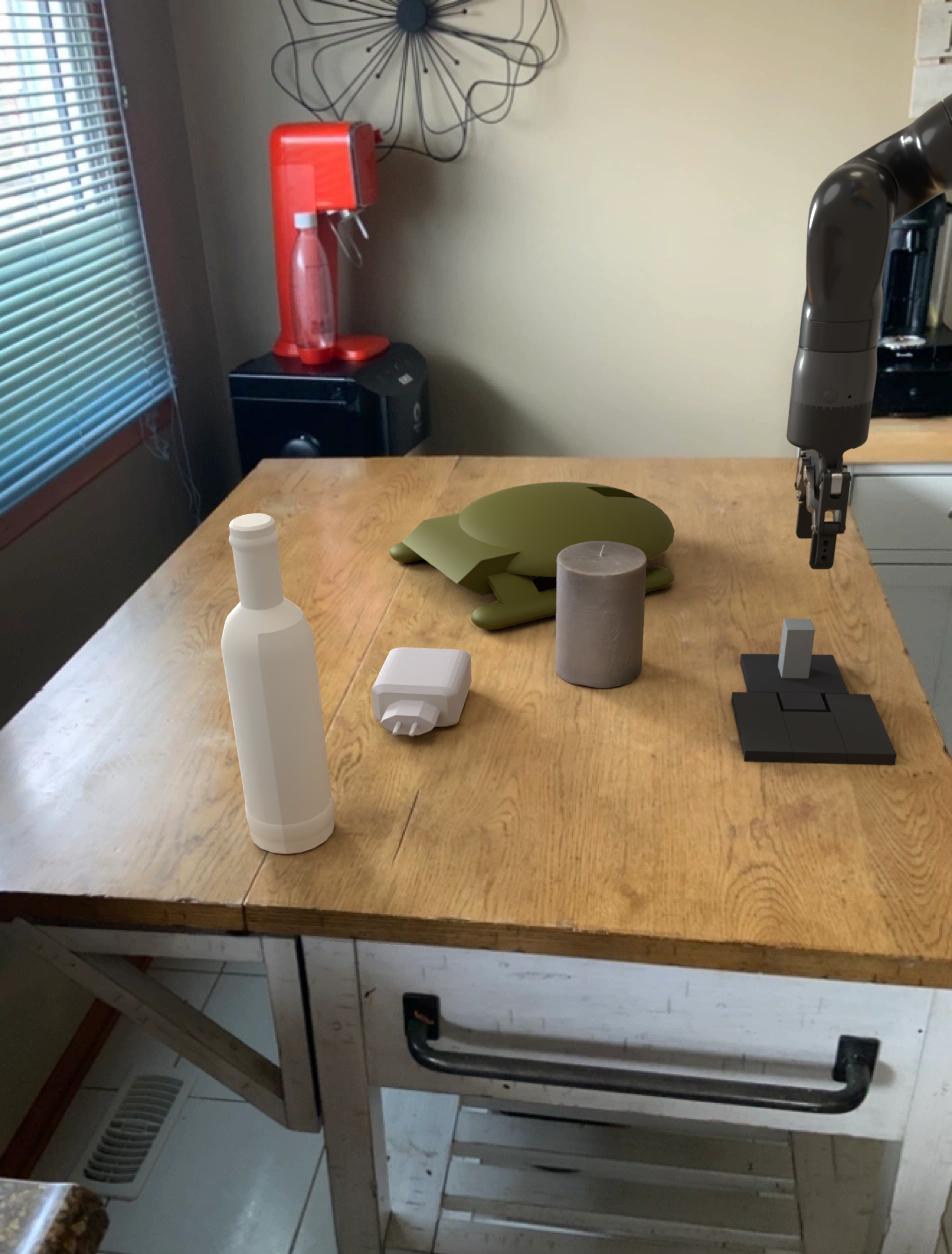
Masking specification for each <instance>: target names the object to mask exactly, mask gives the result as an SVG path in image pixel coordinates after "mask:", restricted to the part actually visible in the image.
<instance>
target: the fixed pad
mask: <svg viewBox="0 0 952 1254" xmlns="http://www.w3.org/2000/svg"><path fill="white" fill-rule="evenodd" d="M730 703H731V706H732V711H733V716H734V720H735V721H734V722H735V725H736V730H737V734H738V739H739V743H740V747H741V751H742V757H743V761H744V762H766V763H770V762H771V763H814V764H815V763H816V764H817V763H819V764H848V765H849V764H851V765H852V764H853V765H855V764H856V765H890V766H892V765H894V766H895V765H896V761H897V756H898V754H897V752H896V749H895V747H894V744H893V743H892V740H891V737H890V735H889V734H888V731H887V729H886V727H885V724H884V722H883V720H882V718H881V716H880V713H879V711H878V709H877V706H876V704H875V702H874V700H873V698H872V695H871V694H870V693H849V694H829V693H826V694H825V700H824V704H825V707H826V712H787V711H782V712H781V708H780V705H779V702H778V698H777V695H776V693H766V692H747V691H732V692H731V699H730Z"/></svg>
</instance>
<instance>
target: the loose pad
mask: <svg viewBox="0 0 952 1254" xmlns="http://www.w3.org/2000/svg"><path fill="white" fill-rule="evenodd" d="M781 629H782V630H781V638H780V647H779V653H741V654H740V658H739V659H740V661H739V664H740V668H741V671H742V676H743V680H744V683H745V687H746V692H766V693H776V695H777V698H778V702H779V705H780V708H781V712H782V711H787V712H827V710H826V707H825V704H824V700H825V694H826V693H829V694H850V693H849V689H848V687H847V685H846V683H845V680H844V678H843V675H842V673H841V670H840V669H839V666H838V664H837V661H836V658H835V656H834V654H813V648H814V641H815V633H816V629H815V626H814V623H813V621H812V619H811V618H783V620H782V628H781Z"/></svg>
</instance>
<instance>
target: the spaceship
mask: <svg viewBox="0 0 952 1254" xmlns="http://www.w3.org/2000/svg"><path fill="white" fill-rule="evenodd" d="M674 538H675V528H674V525H673V523H672V520H671V518H670V517H669V516H668V515H667V513H666V512H665V511H664V510H663V509H662V508H660V506H658V505H656V503H653V502H651V501H649V500H648V499H647V498H643V497H641V496H639V495H636V494H634V493H633V492H631V491H627V490H625V489H621V488H617V487H614V486H610V485H605V484H598V483H589V482H581V481H579V482H578V481H547V482H538V483H529V484H528V483H527V484H522V485H517V486H516V485H515V486H512V487H508V488H504V489H500V490H498V491H495V492H492V493H490V494H487V495H484V496H482V497H480V498H478V499H476V500H474V501H472V502H471V503H469V504H468V505H466V506H465V507H464V508H462V509H461V510H459V512H457V513H452V514H448V515H447V514H446V515H443V516H439V517H438V516H437V517H432V518H428V519H427V518H426V519H423V520H422V521H421V522H420V523H419V524H418V525H417V526H416V527H414V529H412V531H410V533H409V534H407V535H406V537H405V538H404V539H403V540H402V541H400V542H397V543H394V545H392V546H391V547H390V549H389V556H390V558H391V559H393V560H394V561H396V562H399V563H407V564H408V563H414V562H418V561H423V560H425V561H426V562H427V563H428V564H430V565H431V566H433V567H434V568H436V570H438V571H439V572H441V573H442V574H444V576H446V577H447V578H448V579H450V580H451V581H452V582H454V583H455V584H456V585H459V586H461V587H463V588H465V589H467V590H469V591H471V592H473V593H476V594H477V595H479V596H486V595H490V594H494V595H495V597H496V599H497V601H495V602H492V603H488V604H484V605H481V606H479V607H477V608H476V609H474V610H473V611H472V613H471V616H470V618H471V621H472V623H473V624H474V625H475V626H476V627H478V628H480V629H483V630H493V631H494V630H500V629H504V628H508V627H513V626H518V625H520V624H525V623H528V622H533V621H537V620H541V619H544V618H548V617H553V616H556V600H557V598H556V595H557V587H553V588H550V589H545V590H541V591H539V590H538V588H537V587H536V585H535V584H534V581H535V580H536V579H537V578H538V577H549V578H550V577H551V578H555V577H556V578H557V561H556V560H557V557H558V554H559V553H560V552H561V551H562V550H563V549H565V548H567V547H569V546H572V545H575V544H579V543H583V542H591V541H611V542H618V543H624V544H628V545H631V546H634V547H636V548H638V549H640V550H641V551H643V553H644V554H645V555H646V558H647V562H648V561H651V560H653V559H656V558H658V557H659V556H660V555H662V554H663V553H664V552H666V551H667V550H668V549H669V547H670V546H671V545H672V544H673V542H674ZM674 582H675V574H674V572H673V571H672V570H671V569H670V568H667V567H665V566H662V565H646V586H645V594H646V593H650V592H653V591H658V590H661V589H666V588H667V587H670V586H671V584H672V583H674Z"/></svg>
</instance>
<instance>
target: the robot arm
mask: <svg viewBox="0 0 952 1254" xmlns="http://www.w3.org/2000/svg"><path fill="white" fill-rule="evenodd" d="M949 192H952V93H951V94H949V95H947V96H946V97H944V98H943V99H942V100H940V101H938V102H937V103H936V104H934V105H932V106H931V107H930V108H929V109H927V110H926V111H925V112H923V113H922V114H921V115H920V116H919V117H918V118H916V119H915V120H914V121H913V122H911V123H910V124H908V125H907V126H905V127H903V128H901V129H900V130H898V131H896V132H894V133H892V134H891V135H888V136H887V137H885V138H883V139H882V140H880V141H878V142H876V143H875V144H873V145H872V146H869V147H868V148H867V149H865V150H863V151H861V152H860V153H858V154H856V155H855V156H853V157H852V158H850V159H848V160H846V161H845V162H844V163H842V164H840V165H839V166H838V167H836V168H835V169H833V170H832V171H831V172H830V173H829V174H828V175H827V176H826V177H825V178H824V179H823V180H822V181H821V182H820V184H819V185H818V187H817V188H816V190H815V192H814V193H813V196H812V197H811V201H810V205H809V209H808V210H809V211H808V217H807V230H806V249H805V251H806V252H805V283H806V284H805V290H804V295H803V300H802V307H801V312H800V313H801V314H800V322H799V323H800V325H799V333H798V345H797V349H796V350H797V351H796V355H795V359H794V363H793V367H792V376H791V387H790V394H789V404H788V405H789V406H788V416H787V427H786V439H787V442H788V443H790V445H792V446H794V447H795V448H799V449H798V457H797V465H796V472H795V473H796V474H795V481H794V483H793V484H794V485H793V486H794V489H795V491H797V493H796V495H795V496H796V497H795V498H796V500H797V502H798V507H797V516H796V526H795V535H796V537H797V538H798V539H801V540H803V539H804V540H806V539H809V540H810V539H811V542H810V549H809V558H808V565H809V567H810V568H811V569H812V570H830V569H832V568H833V567H834V562H835V555H836V554H835V553H836V546H837V537H838V535H844V534H845V532H846V529H847V525H846V523H847V513H848V506H849V497H850V487H851V482H852V477H853V476H852V474H851V471H849V470H848V469H849V468H848V464H847V463H844V454H845V453H846V452H848V451H849V450H854V449H855V450H856V449H857V448H858V449H859V448H860V447H862V446H863V445H865V443H866V442H867V441H868V438H869V432H870V424H871V417H872V409H873V403H874V402H873V401H874V394H875V388H876V380H877V370H878V353H877V352H878V343H879V337H880V329H881V321H882V313H883V300H884V299H883V297H884V296H883V294H884V293H883V286H882V283H883V276H884V271H885V267H886V260H887V254H888V249H889V244H890V243H889V242H890V239H891V232H892V227H893V224H895V223H896V222H898V221H900V220H901V219H902V218H904V217H906V216H908V215H909V214H911V213H912V212H914V211H915V210H917V209H918V208H920V207H921V206H924V204H926V203H928V202H929V201H931V200H932V199H934V198H936V197H937V196H939V195H941V194H944V193H949ZM828 512H829V513H832V520H830V521H829V520H825V519H826V513H828Z"/></svg>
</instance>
